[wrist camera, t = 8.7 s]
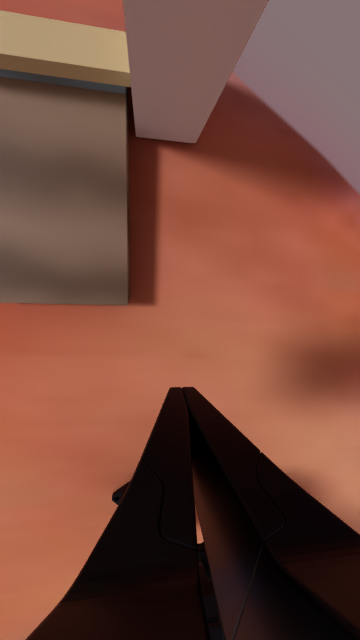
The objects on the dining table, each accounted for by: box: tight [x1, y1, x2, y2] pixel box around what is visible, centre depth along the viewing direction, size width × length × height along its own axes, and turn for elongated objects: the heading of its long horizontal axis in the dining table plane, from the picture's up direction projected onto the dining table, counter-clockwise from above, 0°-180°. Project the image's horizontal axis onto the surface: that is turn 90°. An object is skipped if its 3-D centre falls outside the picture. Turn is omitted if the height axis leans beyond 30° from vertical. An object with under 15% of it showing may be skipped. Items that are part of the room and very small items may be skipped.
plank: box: [0, 69, 130, 305], centre depth 16 cm, size 15×10×2 cm, turn 177°
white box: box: [0, 0, 269, 144], centre depth 10 cm, size 4×13×12 cm, turn 87°
